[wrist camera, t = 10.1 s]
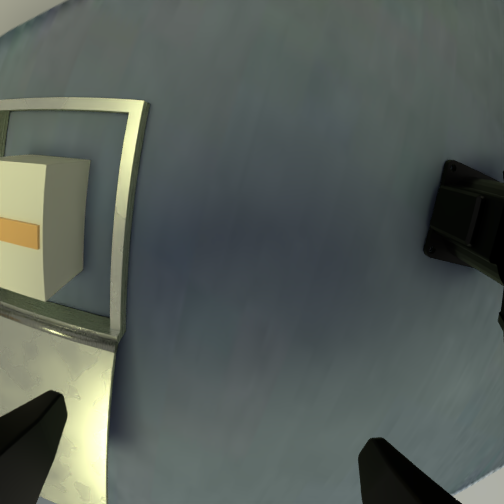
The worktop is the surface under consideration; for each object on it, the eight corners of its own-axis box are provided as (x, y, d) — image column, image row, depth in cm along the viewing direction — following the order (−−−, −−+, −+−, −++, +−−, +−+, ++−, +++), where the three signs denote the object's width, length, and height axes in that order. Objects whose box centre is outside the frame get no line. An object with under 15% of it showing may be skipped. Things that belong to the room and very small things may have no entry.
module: (91, 159, 17) (44, 165, 12) (83, 269, 19) (43, 303, 14) (30, 154, 16) (-22, 159, 11) (26, 255, 18) (-19, 282, 13)
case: (150, 103, 16) (71, 66, 7) (130, 443, 24) (107, 522, 15) (5, 101, 15) (-92, 95, 6) (27, 407, 23) (-12, 469, 14)
